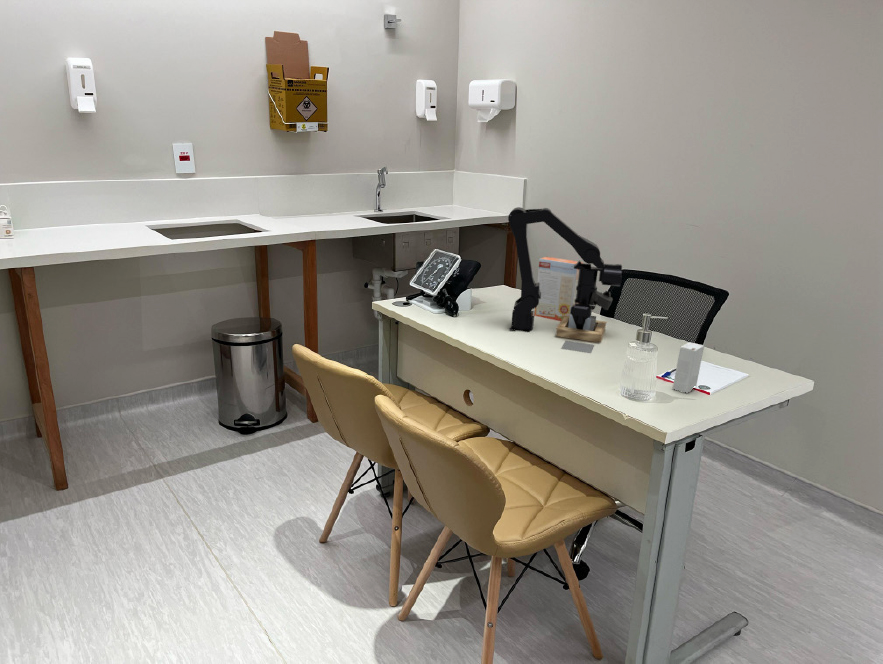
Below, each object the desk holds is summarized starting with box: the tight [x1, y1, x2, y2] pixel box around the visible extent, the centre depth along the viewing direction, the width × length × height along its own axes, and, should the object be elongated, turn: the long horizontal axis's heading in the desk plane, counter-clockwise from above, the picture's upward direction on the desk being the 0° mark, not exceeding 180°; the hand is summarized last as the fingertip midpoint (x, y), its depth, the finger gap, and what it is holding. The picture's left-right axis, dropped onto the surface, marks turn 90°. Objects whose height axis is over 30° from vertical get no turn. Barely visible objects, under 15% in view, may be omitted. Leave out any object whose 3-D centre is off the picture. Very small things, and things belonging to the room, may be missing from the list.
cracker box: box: [533, 256, 584, 322], centre depth 239 cm, size 14×6×21 cm, turn 58°
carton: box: [555, 316, 607, 344], centre depth 223 cm, size 14×16×4 cm
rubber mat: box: [560, 340, 595, 354], centre depth 211 cm, size 9×9×1 cm
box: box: [568, 314, 597, 331], centre depth 223 cm, size 8×4×6 cm, turn 71°
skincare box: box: [672, 342, 705, 394], centre depth 180 cm, size 6×4×12 cm
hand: (581, 330), depth 223 cm, fingers open, 7 cm apart
